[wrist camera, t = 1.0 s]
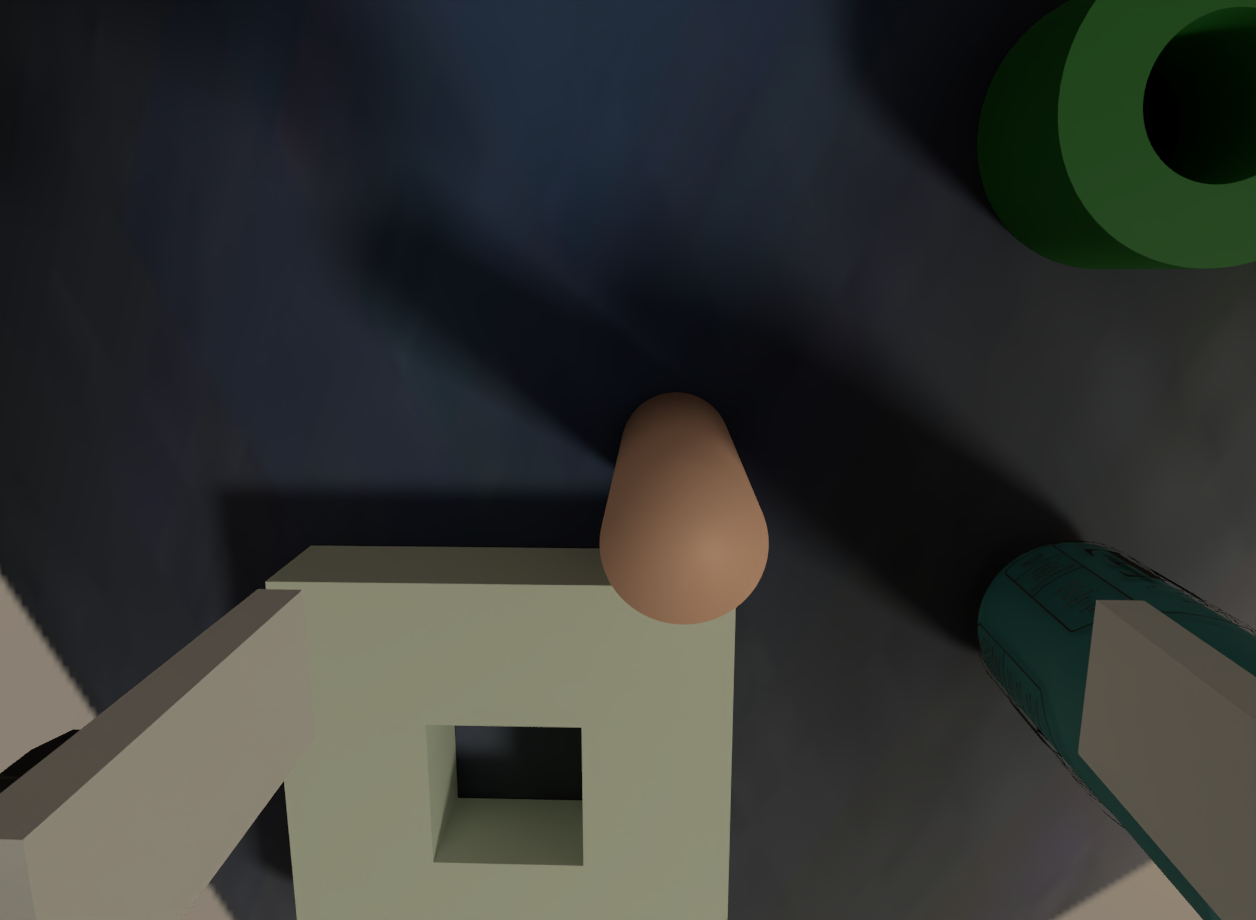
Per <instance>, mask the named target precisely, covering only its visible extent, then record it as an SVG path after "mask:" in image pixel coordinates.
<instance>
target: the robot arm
mask: <svg viewBox="0 0 1256 920" xmlns="http://www.w3.org/2000/svg"><path fill="white" fill-rule="evenodd" d="M314 739H315V732H314V720H313V708H312V696H311V684H310V672H309V660H308V648H307V636H306V624H305V612H304V600H303V590H285V589H257V590H256V591H255V592H254V593H252V594H251V595H250V596H249V597H247V598H246V599H245V600H244V601H242V602H241V603H240V604H239V605H237V606H236V607H235V608H233V609H232V610H231V611H230V612H228V613H227V614H226V615H225V616H223V617H222V618H221V619H220V620H218V621H217V622H216V623H215V624H213V625H212V626H211V627H210V628H208V629H207V630H206V631H204V632H203V633H202V634H201V635H199V636H198V637H197V638H196V639H194V640H193V641H192V642H191V643H189V644H188V645H187V646H186V647H184V648H183V649H182V650H181V651H179V652H178V653H177V654H175V655H174V656H173V657H172V658H170V659H169V660H168V661H167V662H165V663H164V664H163V665H162V666H160V667H159V668H158V669H157V670H155V671H154V672H153V673H152V674H150V675H149V676H148V677H146V678H145V679H144V680H143V681H141V682H140V683H139V684H138V685H136V686H135V687H134V688H133V689H131V690H130V691H129V692H128V693H126V694H125V695H124V696H123V697H121V698H120V699H119V700H117V701H116V702H115V703H114V704H112V705H111V706H110V707H109V708H107V709H106V710H105V711H104V712H102V713H101V714H100V715H99V716H97V717H96V718H95V719H94V720H92V721H91V722H90V723H88V724H87V725H86V726H85V727H83V728H82V729H81V730H71V731H69V732H67V733H65V734H63V735H61V736H59V737H57V738H55V739H53V740H51V741H49V742H47V743H44V744H42V745H40V746H39V747H36V748H34V749H32V750H30V751H29V752H28V753H26V754H25V755H24V756H23V757H21V758H20V759H19V760H17V761H16V762H15V763H13V764H12V765H11V766H9V767H8V768H7V769H6V770H4V771H3V772H2V773H0V920H182V918H183V917H184V916H185V914H186V913H187V912H188V910H189V909H190V908H191V906H192V904H194V902H195V901H196V899H197V898H198V897H199V895H200V894H201V893H202V891H203V890H204V889H205V887H206V886H207V885H208V883H209V882H210V880H211V879H212V878H213V876H214V875H215V874H216V872H217V871H218V870H219V868H220V867H221V866H222V864H223V863H224V861H225V860H226V859H227V857H228V856H229V855H230V853H231V852H232V851H233V849H234V848H235V847H236V845H237V844H238V842H239V841H240V840H241V838H242V837H243V836H244V834H245V833H246V832H247V830H248V829H249V828H250V826H251V825H252V824H253V822H254V821H255V819H256V818H257V817H258V815H259V814H260V813H261V811H262V810H263V809H264V807H265V806H266V805H267V803H268V802H269V800H270V799H271V798H272V796H273V795H274V794H275V792H276V791H277V790H278V788H279V787H280V786H281V784H282V783H283V781H284V780H285V779H286V777H287V776H288V775H289V773H290V772H291V771H292V769H293V768H294V767H295V765H296V764H297V762H298V761H299V760H300V758H301V757H302V756H303V754H304V753H305V752H306V750H307V749H308V748H309V746H310V745H311V743H312V742H313V741H314ZM1078 754H1079V755H1080V756H1081V757H1082V759H1083V760H1084V761H1085V762H1086V763H1087V764H1088V766H1089V767H1090V768H1091V769H1092V770H1093V771H1094V772H1095V774H1096V775H1097V776H1098V777H1099V778H1100V779H1101V781H1102V782H1103V783H1104V784H1105V785H1106V786H1107V788H1108V789H1109V790H1110V791H1111V792H1112V793H1113V795H1114V796H1115V797H1116V798H1117V799H1118V800H1119V801H1120V803H1121V804H1122V805H1123V806H1124V807H1125V808H1126V810H1127V811H1128V812H1129V813H1130V814H1131V815H1132V817H1133V818H1134V819H1135V820H1136V821H1137V822H1138V824H1139V825H1140V826H1141V827H1142V828H1143V829H1144V830H1145V832H1146V833H1147V834H1148V835H1149V836H1150V837H1151V839H1152V840H1153V841H1154V842H1155V843H1156V844H1157V846H1158V847H1159V848H1160V849H1161V850H1162V851H1163V853H1164V854H1165V855H1166V856H1167V857H1168V858H1169V859H1170V861H1171V862H1172V863H1173V864H1174V865H1175V866H1176V868H1177V869H1178V870H1179V871H1180V872H1181V873H1182V875H1183V876H1184V877H1185V878H1186V879H1187V880H1188V882H1189V883H1190V884H1191V885H1192V886H1193V887H1194V888H1195V890H1196V891H1197V892H1198V893H1199V894H1200V895H1201V897H1202V898H1203V899H1204V900H1205V901H1206V902H1207V904H1208V905H1209V906H1210V907H1211V908H1212V909H1213V911H1214V912H1215V913H1216V914H1217V915H1218V916H1219V917H1220V919H1221V920H1256V677H1255V676H1253V675H1252V674H1251V673H1249V672H1248V671H1246V670H1245V669H1243V668H1242V667H1240V666H1239V665H1237V664H1236V663H1234V662H1233V661H1232V660H1230V659H1229V658H1227V657H1226V656H1224V655H1223V654H1221V653H1220V652H1218V651H1217V650H1216V649H1214V648H1213V647H1211V646H1210V645H1208V644H1207V643H1205V642H1204V641H1202V640H1201V639H1199V638H1198V637H1197V636H1195V635H1194V634H1192V633H1191V632H1189V631H1188V630H1186V629H1185V628H1183V627H1182V626H1180V625H1179V624H1178V623H1176V622H1175V621H1173V620H1172V619H1170V618H1169V617H1167V616H1166V615H1164V614H1163V613H1162V612H1160V611H1159V610H1157V609H1156V608H1154V607H1153V606H1151V605H1150V604H1148V603H1147V602H1145V601H1137V600H1096V606H1095V614H1094V623H1093V631H1092V639H1091V648H1090V656H1089V664H1088V673H1087V681H1086V689H1085V698H1084V706H1083V714H1082V723H1081V731H1080V740H1079V748H1078Z"/></svg>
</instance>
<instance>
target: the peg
mask: <svg viewBox="0 0 1256 920" xmlns="http://www.w3.org/2000/svg"><path fill="white" fill-rule="evenodd" d="M599 545H600V556H601V561H602V565H603V568H604V571H605V574H606V576H607V578H608V580H609V582H610V584H611V585H612V587H613V588H614V590H615V591H616V592H617V594H618V595H619V596H620V597H621V598H622V599H623V600H624V601H625V602H626V603H627V604H628V605H630V606H631V607H632V608H633V609H635V610H636V611H638V612H640V613H641V614H643V615H645V616H647V617H649V618H652V619H655V620H658V621H661V622H665V623H670V624H681V625H685V624H697V623H703V622H707V621H710V620H713V619H716V618H718V617H721V616H723V615H725V614H727V613H728V612H730V611H732V610H733V609H735V608H736V607H737V606H738V605H740V604H741V603H742V602H743V601H744V600H745V599H746V598H747V597H748V596H749V595H750V594H751V592H752V591H753V590H754V588H755V587H756V585H757V584H758V582H759V580H760V578H761V576H762V574H763V571H764V569H765V565H766V561H767V557H768V548H769V542H768V531H767V525H766V522H765V519H764V516H763V513H762V511H761V509H760V506H759V504H758V501H757V499H756V497H755V494H754V492H753V489H752V487H751V485H750V482H749V480H748V477H747V475H746V473H745V470H744V468H743V465H742V463H741V461H740V458H739V456H738V453H737V451H736V449H735V446H734V444H733V441H732V439H731V437H730V434H729V432H728V429H727V427H726V425H725V423H724V421H723V419H722V417H721V416H720V414H719V413H718V412H717V411H716V409H715V408H714V407H713V406H711V405H710V404H709V403H708V402H706V401H705V400H703V399H701V398H699V397H697V396H694V395H691V394H687V393H680V392H672V393H665V394H660V395H657V396H655V397H653V398H650V399H648V400H647V401H645V402H644V403H642V404H641V405H640V406H639V407H638V408H637V409H636V410H635V411H634V412H633V413H632V415H631V416H630V418H629V419H628V421H627V423H626V425H625V428H624V431H623V435H622V440H621V444H620V448H619V453H618V457H617V461H616V466H615V470H614V475H613V479H612V483H611V488H610V492H609V496H608V501H607V505H606V509H605V514H604V518H603V522H602V527H601V532H600V544H599Z"/></svg>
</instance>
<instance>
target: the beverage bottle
mask: <svg viewBox="0 0 1256 920" xmlns="http://www.w3.org/2000/svg"><path fill="white" fill-rule="evenodd" d="M1068 542H1087V541H1068ZM1093 543H1095V542H1093ZM1098 544H1100V543H1098ZM1103 545H1104V544H1103ZM1105 548H1109V547H1104V548H1102V547H1101V546H1098V545H1097V546H1095V545H1091V544H1085V543H1066V542H1061V543H1056V544H1049V545H1046V546H1042V547H1039V548H1036V549H1033V550H1031V551H1029V552H1027V553H1025V554H1023V555H1021V556H1019V557H1018V558H1016V559H1015V560H1013V561H1012V562H1010V563H1009V564H1008V565H1007V566H1006V567H1004V568H1003V569H1002V570H1001V571H1000V572H999V574H998V575H997V576H996V577H995V578H994V580H993V581H992V582H991V584H990V585H989V587H988V589H987V591H986V593H985V595H984V597H983V599H982V602H981V605H980V609H979V615H978V626H977V645H978V636H979V642H980V647H981V651H982V656H983V660H984V659H985V660H984V661H985V662H986V664H987V667H988V668H989V669H990V671H991V674H993V675H994V677H995V678H996V679H997V680H998V681H999V683H1000V684H1001V685H1002V686H1003V687H1004V688H1005V690H1006V691H1007V692H1008V694H1010V696H1011V697H1012V698H1013V699H1014V700H1015V702H1016V703H1017V704H1018V705H1019V706H1018V705H1017V706H1018V707H1020V708H1021V709H1022V710H1023V711H1024V712H1025V713H1026V714H1027V716H1028V717H1029V718H1030V719H1031V720H1032V722H1033V723H1034V724H1035V725H1036V726H1037V727H1038V728H1037V727H1036V728H1037V729H1038V730H1037V731H1038V732H1039V733H1041V734H1042V735H1043V736H1044V737H1045V738H1046V739H1048V741H1049V742H1050V743H1051V744H1052V745H1053V746H1054V748H1055V749H1056V750H1057V751H1058V753H1059V755H1060V757H1061V756H1062V757H1063V758H1064V759H1065V761H1066V762H1067V763H1068V764H1069V765H1070V767H1071V768H1072V769H1073V770H1074V771H1075V773H1076V774H1077V775H1078V777H1079V778H1080V779H1081V780H1082V781H1083V782H1082V781H1081V780H1079V779H1078V778H1077V779H1078V780H1079V781H1081V782H1082V783H1085V784H1086V785H1087V787H1088V789H1089V791H1092V793H1093V794H1094V795H1095V797H1097V798H1098V800H1099V802H1100V803H1102V804H1103V805H1104V806H1105V807H1106V808H1107V809H1108V810H1109V811H1110V812H1111V813H1112V814H1113V815H1114V816H1115V817H1116V819H1117V820H1118V821H1119V822H1120V823H1121V824H1122V827H1123V828H1125V829H1126V830H1127V831H1128V833H1129V834H1130V835H1131V836H1132V837H1133V838H1134V840H1135V841H1136V842H1137V843H1138V844H1139V845H1140V847H1141V848H1142V849H1143V850H1144V851H1145V852H1146V854H1147V855H1148V856H1149V857H1150V858H1151V859H1152V861H1153V862H1154V863H1155V864H1156V865H1157V866H1158V868H1160V870H1161V871H1162V872H1163V873H1164V875H1165V876H1166V877H1167V878H1168V879H1169V880H1170V881H1171V883H1172V884H1173V885H1174V886H1175V887H1176V889H1177V890H1178V891H1179V892H1180V893H1181V894H1182V896H1183V897H1184V898H1185V899H1186V900H1187V901H1188V903H1189V904H1190V905H1191V906H1192V907H1193V908H1194V910H1195V911H1196V912H1197V913H1198V914H1199V915H1200V917H1201V918H1202V919H1203V920H1221V919H1220V917H1219V916H1218V915H1217V914H1216V913H1215V912H1214V911H1213V909H1212V908H1211V907H1210V906H1209V905H1208V904H1207V902H1206V901H1205V900H1204V899H1203V898H1202V897H1201V895H1200V894H1199V893H1198V892H1197V891H1196V890H1195V888H1194V887H1193V886H1192V885H1191V884H1190V883H1189V882H1188V880H1187V879H1186V878H1185V877H1184V876H1183V875H1182V873H1181V872H1180V871H1179V870H1178V869H1177V868H1176V866H1175V865H1174V864H1173V863H1172V862H1171V861H1170V859H1169V858H1168V857H1167V856H1166V855H1165V854H1164V853H1163V851H1162V850H1161V849H1160V848H1159V847H1158V846H1157V844H1156V843H1155V842H1154V841H1153V840H1152V839H1151V837H1150V836H1149V835H1148V834H1147V833H1146V832H1145V830H1144V829H1143V828H1142V827H1141V826H1140V825H1139V824H1138V822H1137V821H1136V820H1135V819H1134V818H1133V817H1132V815H1131V814H1130V813H1129V812H1128V811H1127V810H1126V808H1125V807H1124V806H1123V805H1122V804H1121V803H1120V801H1119V800H1118V799H1117V798H1116V797H1115V796H1114V795H1113V793H1112V792H1111V791H1110V790H1109V789H1108V788H1107V786H1106V785H1105V784H1104V783H1103V782H1102V781H1101V779H1100V778H1099V777H1098V776H1097V775H1096V774H1095V772H1094V771H1093V770H1092V769H1091V768H1090V767H1089V766H1088V764H1087V763H1086V762H1085V761H1084V760H1083V759H1082V757H1081V756H1080V755H1079V754H1078V748H1079V740H1080V731H1081V723H1082V714H1083V706H1084V698H1085V689H1086V681H1087V673H1088V664H1089V656H1090V648H1091V639H1092V631H1093V623H1094V614H1095V606H1096V600H1137V601H1145V602H1147V603H1148V604H1150V605H1151V606H1153V607H1154V608H1156V609H1157V610H1159V611H1160V612H1162V613H1163V614H1164V615H1166V616H1167V617H1169V618H1170V619H1172V620H1173V621H1175V622H1176V623H1178V624H1179V625H1180V626H1182V627H1183V628H1185V629H1186V630H1188V631H1189V632H1191V633H1192V634H1194V635H1195V636H1197V637H1198V638H1199V639H1201V640H1202V641H1204V642H1205V643H1207V644H1208V645H1210V646H1211V647H1213V648H1214V649H1216V650H1217V651H1218V652H1220V653H1221V654H1223V655H1224V656H1226V657H1227V658H1229V659H1230V660H1232V661H1233V662H1234V663H1236V664H1237V665H1239V666H1240V667H1242V668H1243V669H1245V670H1246V671H1248V672H1249V673H1251V674H1252V675H1253V676H1255V677H1256V637H1255V636H1256V635H1255V636H1254V635H1252V634H1250V633H1249V632H1247V631H1245V630H1244V629H1242V628H1240V627H1239V626H1240V625H1238V626H1237V624H1234V623H1232V621H1231V620H1230V619H1229V618H1228V617H1227V616H1226V615H1228V614H1226V615H1225V616H1226V617H1227V618H1228V619H1229V620H1230V621H1231V622H1230V621H1229V620H1227V619H1225V618H1224V617H1222V616H1220V615H1219V614H1217V613H1215V612H1214V611H1212V610H1210V609H1208V608H1207V607H1205V606H1203V605H1204V604H1201V603H1198V602H1197V601H1195V600H1193V599H1192V598H1190V597H1188V595H1185V594H1183V593H1182V592H1183V591H1182V592H1180V591H1181V590H1180V591H1178V589H1175V588H1173V587H1172V586H1170V585H1168V584H1167V583H1165V582H1164V581H1166V580H1168V582H1171V583H1173V584H1174V585H1176V586H1178V587H1179V588H1181V589H1183V590H1185V592H1187V593H1190V594H1191V595H1193V596H1191V597H1194V596H1195V597H1196V598H1198V599H1200V598H1199V597H1198V596H1196V595H1195V594H1193V593H1191V592H1189V591H1188V590H1186V589H1184V588H1183V587H1181V586H1179V585H1178V584H1176V583H1174V582H1172V581H1171V580H1169V579H1167V578H1166V577H1164V576H1162V575H1160V574H1159V573H1157V572H1155V571H1154V570H1152V569H1151V570H1152V571H1153V572H1154V573H1155V574H1156V575H1157V576H1158V575H1159V576H1161V577H1163V578H1164V579H1166V580H1164V581H1163V579H1161V578H1160V577H1159V576H1158V577H1157V576H1155V575H1154V574H1153V573H1152V572H1151V571H1150V570H1149V569H1150V568H1149V569H1148V570H1149V571H1150V572H1149V571H1147V570H1145V569H1144V568H1142V567H1140V566H1139V565H1137V564H1135V563H1133V562H1132V561H1130V560H1128V559H1127V558H1125V557H1123V556H1122V555H1120V554H1121V553H1117V552H1113V551H1110V550H1108V549H1105ZM1112 548H1113V547H1112ZM1115 549H1116V548H1115ZM1116 551H1117V550H1116ZM1119 552H1122V551H1120V550H1119ZM1128 557H1129V555H1128ZM1130 558H1131V557H1130ZM1132 559H1133V558H1132ZM1133 560H1135V559H1133ZM1135 561H1136V560H1135ZM1137 562H1138V561H1137ZM1138 563H1140V562H1138ZM1142 565H1143V564H1142ZM1143 566H1144V565H1143ZM1144 567H1145V566H1144ZM1161 580H1162V581H1161ZM1189 596H1190V595H1189ZM1200 600H1201V601H1203V600H1202V599H1200ZM1201 601H1200V602H1201ZM1205 602H1207V601H1205ZM1205 602H1204V601H1203V603H1205ZM1205 604H1206V603H1205ZM1210 604H1211V603H1210ZM1210 604H1209V605H1210ZM1206 606H1208V605H1207V604H1206ZM1210 607H1212V606H1210ZM1214 607H1215V606H1214ZM1212 608H1213V607H1212ZM1218 610H1220V609H1218ZM1215 611H1216V610H1215ZM1220 611H1222V610H1220ZM1217 612H1219V611H1217ZM1224 612H1225V611H1224ZM1222 613H1223V612H1222ZM1223 614H1224V613H1223ZM1229 616H1230V614H1229ZM1230 617H1231V616H1230ZM1231 618H1232V617H1231ZM1232 619H1233V618H1232ZM1236 620H1237V618H1236ZM1234 621H1235V620H1234ZM1235 622H1237V621H1235ZM1240 622H1241V621H1240ZM1237 623H1238V622H1237ZM1238 624H1239V623H1238ZM1248 626H1249V625H1248ZM1248 626H1247V627H1248ZM1241 627H1243V626H1241ZM1249 627H1250V626H1249ZM1244 628H1246V627H1244ZM1247 629H1248V628H1247ZM1252 629H1253V628H1252ZM1250 630H1251V629H1250ZM1253 630H1254V629H1253ZM1253 630H1251V631H1252V632H1253ZM1255 631H1256V630H1255ZM1255 631H1254V632H1255ZM1254 632H1253V633H1254ZM1254 634H1255V633H1254ZM978 651H979V648H978ZM979 655H980V653H979ZM980 658H981V657H980ZM981 661H982V660H981ZM982 664H983V663H982ZM983 666H984V665H983ZM984 668H985V667H984ZM986 672H987V671H986ZM987 674H989V673H988V672H987ZM990 677H991V676H990ZM991 678H992V677H991ZM992 679H993V678H992ZM993 680H994V679H993ZM996 684H997V683H996ZM997 685H998V684H997ZM998 686H999V685H998ZM1001 690H1002V689H1001ZM1002 691H1003V690H1002ZM1003 692H1004V691H1003ZM1006 696H1007V695H1006ZM1010 696H1009V697H1008V696H1007V697H1008V698H1009V700H1010V699H1011V698H1010ZM1013 699H1012V700H1013ZM1012 700H1011V702H1012ZM1009 702H1010V701H1009ZM1011 702H1010V703H1011ZM1012 703H1013V704H1014V702H1012ZM1012 703H1011V704H1012ZM1013 704H1012V705H1013ZM1014 705H1015V704H1014ZM1014 705H1013V706H1014ZM1014 708H1015V709H1016V710H1017V711H1018V712H1019V714H1020V715H1021V716H1022V717H1023V718H1024V720H1025V721H1026V722H1027V723H1028V724H1029V726H1030V727H1031V728H1032V729H1033V730H1034V732H1035V733H1036V734H1037V735H1038V736H1039V738H1040V739H1041V740H1042V741H1043V742H1044V743H1045V740H1044V739H1043V738H1042V737H1040V734H1039V733H1038V732H1037V731H1035V730H1036V729H1035V728H1034V727H1033V726H1032V725H1030V722H1029V721H1028V720H1027V719H1025V716H1024V715H1023V714H1022V713H1020V710H1019V709H1018V708H1017V707H1015V706H1014ZM1045 744H1046V745H1047V746H1048V747H1049V748H1050V746H1049V745H1048V744H1047V743H1045ZM1050 749H1051V748H1050ZM1051 750H1052V749H1051ZM1052 751H1053V752H1054V753H1055V751H1054V750H1052ZM1056 753H1057V752H1056ZM1058 753H1057V754H1058ZM1056 756H1057V755H1056ZM1056 756H1055V757H1056ZM1057 757H1058V756H1057ZM1057 757H1056V758H1057ZM1058 758H1059V757H1058ZM1059 759H1060V758H1059ZM1061 759H1062V758H1061ZM1061 759H1060V760H1061ZM1061 762H1062V761H1061ZM1063 762H1064V761H1063ZM1063 762H1062V763H1063ZM1063 764H1064V765H1065V763H1063ZM1063 764H1062V765H1063ZM1064 765H1063V766H1064ZM1065 766H1066V765H1065ZM1065 766H1064V767H1065ZM1068 768H1069V767H1068ZM1066 769H1067V767H1066ZM1069 769H1070V768H1069ZM1072 769H1071V770H1072ZM1073 770H1072V771H1073ZM1071 773H1073V772H1071ZM1073 774H1074V773H1073ZM1076 774H1074V775H1076ZM1077 775H1076V776H1077ZM1072 777H1073V778H1074V779H1075V776H1073V775H1072ZM1077 779H1076V780H1077ZM1076 780H1075V781H1076ZM1078 780H1077V781H1078ZM1079 781H1078V782H1079ZM1080 786H1081V785H1080ZM1085 787H1086V786H1085ZM1087 787H1086V788H1087ZM1086 791H1087V790H1086ZM1090 793H1091V792H1090ZM1092 793H1091V794H1092ZM1093 794H1092V795H1093ZM1089 795H1090V794H1089ZM1090 796H1091V795H1090ZM1091 797H1092V796H1091ZM1094 799H1096V798H1094ZM1096 800H1097V799H1096ZM1103 812H1104V811H1103ZM1104 813H1105V812H1104ZM1105 814H1106V813H1105ZM1108 816H1109V815H1108ZM1109 817H1110V816H1109ZM1110 818H1111V817H1110ZM1114 821H1115V820H1114ZM1115 822H1116V821H1115ZM1116 823H1117V822H1116ZM1118 824H1119V823H1118ZM1119 825H1120V824H1119ZM1120 826H1121V825H1120Z"/></svg>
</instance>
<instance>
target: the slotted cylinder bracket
mask: <svg viewBox="0 0 1256 920" xmlns="http://www.w3.org/2000/svg"><path fill="white" fill-rule="evenodd" d="M1151 70H1153V71H1155V72H1156V73H1157V74H1159V75H1160V76H1161V77H1162V78H1163V79H1164V80H1165V81H1166V82H1167V84H1168V85H1169V86H1170V88H1171V89H1172V91H1173V93H1174V95H1175V97H1176V99H1177V102H1178V106H1179V110H1180V117H1181V130H1180V137H1179V141H1178V145H1177V148H1176V151H1175V153H1174V155H1173V157H1172V159H1171V161H1170V163H1169V165H1168V166H1166V165H1165V164H1164V163H1163V162H1162V161H1161V159H1160V158H1159V157H1158V155H1157V154H1156V153H1155V151H1154V149H1153V148H1152V146H1151V144H1150V141H1149V139H1148V137H1147V133H1146V130H1145V125H1144V120H1143V98H1144V91H1145V87H1146V83H1147V79H1148V77H1149V74H1150V71H1151ZM977 155H978V164H979V170H980V175H981V180H982V183H983V186H984V189H985V192H986V195H987V197H988V199H989V201H990V203H991V206H992V208H993V209H994V211H995V212H996V214H997V216H998V217H999V219H1000V220H1001V222H1002V223H1003V224H1004V225H1005V227H1006V228H1007V229H1008V230H1009V231H1010V232H1011V233H1012V234H1013V235H1014V236H1015V237H1016V238H1017V239H1018V240H1019V241H1020V242H1022V243H1023V244H1024V245H1025V246H1027V247H1028V248H1029V249H1031V250H1033V251H1034V252H1036V253H1038V254H1039V255H1041V256H1043V257H1046V258H1048V259H1050V260H1052V261H1055V262H1058V263H1062V264H1065V265H1069V266H1074V267H1079V268H1090V269H1203V268H1223V267H1230V266H1238V265H1242V264H1246V263H1250V262H1254V261H1256V0H1068V1H1067V2H1065V3H1064V4H1062V5H1061V6H1059V7H1058V8H1056V9H1055V10H1053V11H1052V12H1050V13H1049V14H1047V15H1046V16H1044V17H1043V18H1042V19H1040V20H1039V21H1038V22H1037V23H1035V24H1034V25H1033V26H1032V27H1031V28H1030V29H1029V30H1028V31H1027V32H1026V33H1025V34H1024V35H1023V36H1022V37H1021V38H1020V39H1019V40H1018V41H1017V42H1016V43H1015V45H1014V46H1013V47H1012V48H1011V49H1010V51H1009V52H1008V54H1007V55H1006V57H1005V58H1004V59H1003V61H1002V62H1001V64H1000V66H999V68H998V69H997V71H996V73H995V75H994V77H993V79H992V81H991V83H990V86H989V88H988V90H987V93H986V96H985V99H984V102H983V106H982V109H981V114H980V119H979V125H978V135H977Z"/></svg>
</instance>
